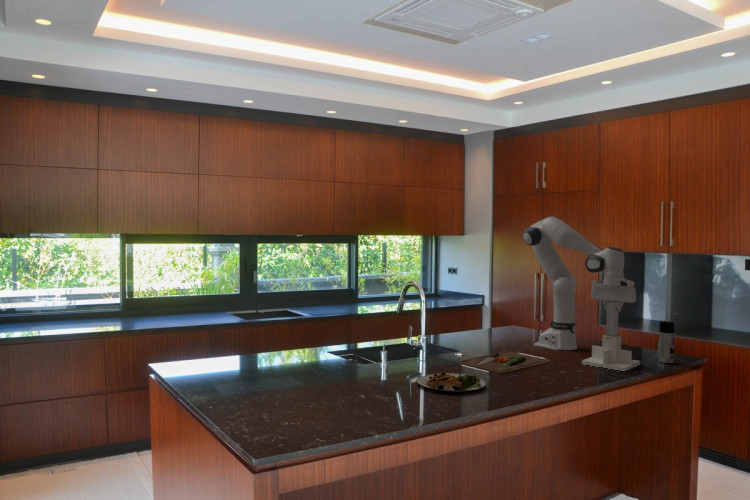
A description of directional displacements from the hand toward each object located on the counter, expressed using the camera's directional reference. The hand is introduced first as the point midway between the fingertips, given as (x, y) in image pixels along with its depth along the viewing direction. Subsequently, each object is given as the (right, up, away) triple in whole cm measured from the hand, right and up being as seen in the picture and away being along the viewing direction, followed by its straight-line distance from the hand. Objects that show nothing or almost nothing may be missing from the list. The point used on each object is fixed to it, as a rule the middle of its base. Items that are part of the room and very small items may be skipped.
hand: (612, 310), depth 273 cm
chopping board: (-51, -26, +3) cm, 57 cm away
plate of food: (-82, -27, -39) cm, 95 cm away
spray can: (+29, -27, +8) cm, 40 cm away
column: (0, -14, 0) cm, 14 cm away
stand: (0, -26, +1) cm, 26 cm away
